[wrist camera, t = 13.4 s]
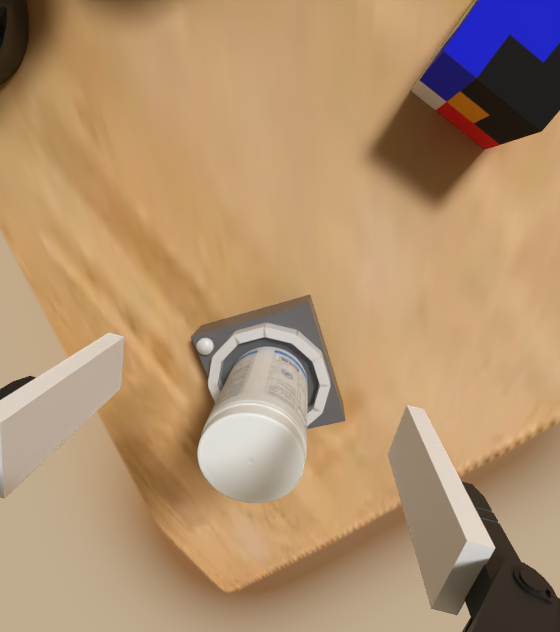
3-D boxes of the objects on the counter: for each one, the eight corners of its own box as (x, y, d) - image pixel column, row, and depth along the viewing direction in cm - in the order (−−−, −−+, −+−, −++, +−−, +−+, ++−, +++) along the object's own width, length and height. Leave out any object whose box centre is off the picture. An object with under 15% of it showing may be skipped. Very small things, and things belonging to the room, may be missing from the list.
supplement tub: (238, 414, 45) (203, 507, 32) (225, 346, 43) (181, 416, 29) (313, 410, 44) (311, 505, 30) (305, 340, 41) (299, 409, 27)
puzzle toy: (410, 90, 36) (443, 50, 27) (481, -12, 33) (547, -98, 24) (484, 149, 37) (541, 131, 28) (560, 55, 34) (654, -2, 25)
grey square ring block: (201, 325, 47) (186, 341, 41) (310, 294, 44) (309, 307, 39) (241, 426, 51) (232, 451, 46) (343, 403, 48) (346, 428, 43)
